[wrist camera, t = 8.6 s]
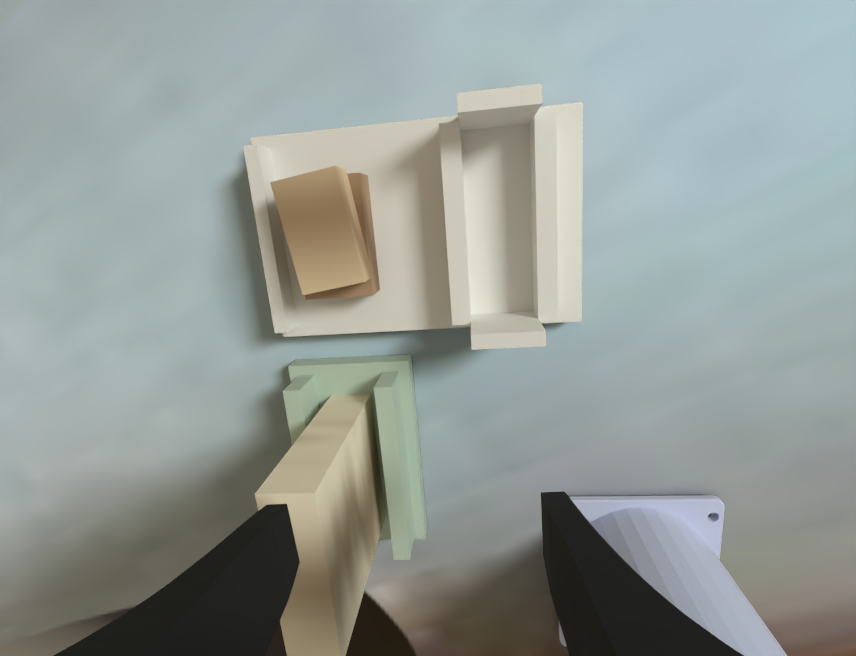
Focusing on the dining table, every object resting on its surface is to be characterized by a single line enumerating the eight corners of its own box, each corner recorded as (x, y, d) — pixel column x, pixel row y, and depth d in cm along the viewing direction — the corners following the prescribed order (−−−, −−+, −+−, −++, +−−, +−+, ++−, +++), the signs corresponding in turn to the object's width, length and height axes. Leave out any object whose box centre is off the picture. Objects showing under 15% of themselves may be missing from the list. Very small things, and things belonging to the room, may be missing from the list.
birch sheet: (385, 516, 23) (342, 665, 16) (348, 517, 24) (288, 663, 16) (370, 393, 22) (314, 493, 14) (331, 395, 22) (254, 493, 14)
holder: (427, 526, 25) (421, 568, 22) (322, 526, 25) (303, 567, 22) (411, 354, 22) (401, 375, 19) (295, 359, 23) (269, 381, 20)
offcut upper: (372, 276, 19) (364, 282, 17) (315, 289, 19) (302, 295, 18) (346, 169, 18) (335, 165, 16) (285, 184, 18) (269, 182, 17)
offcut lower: (379, 289, 20) (373, 295, 19) (317, 293, 21) (305, 299, 19) (367, 175, 19) (359, 172, 18) (301, 181, 20) (287, 179, 18)
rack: (576, 316, 21) (603, 343, 16) (291, 331, 22) (247, 360, 18) (577, 107, 19) (608, 76, 14) (261, 141, 20) (202, 121, 16)
